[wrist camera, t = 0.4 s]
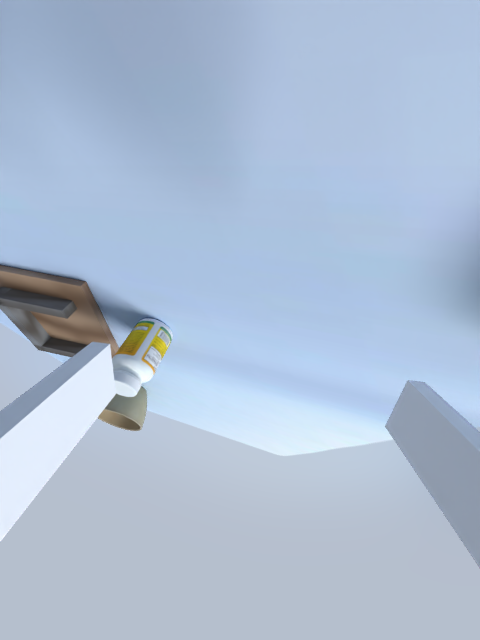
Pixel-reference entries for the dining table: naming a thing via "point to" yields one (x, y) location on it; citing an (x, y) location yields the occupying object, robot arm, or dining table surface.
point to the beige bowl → (126, 411)
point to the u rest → (53, 311)
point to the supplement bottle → (140, 356)
